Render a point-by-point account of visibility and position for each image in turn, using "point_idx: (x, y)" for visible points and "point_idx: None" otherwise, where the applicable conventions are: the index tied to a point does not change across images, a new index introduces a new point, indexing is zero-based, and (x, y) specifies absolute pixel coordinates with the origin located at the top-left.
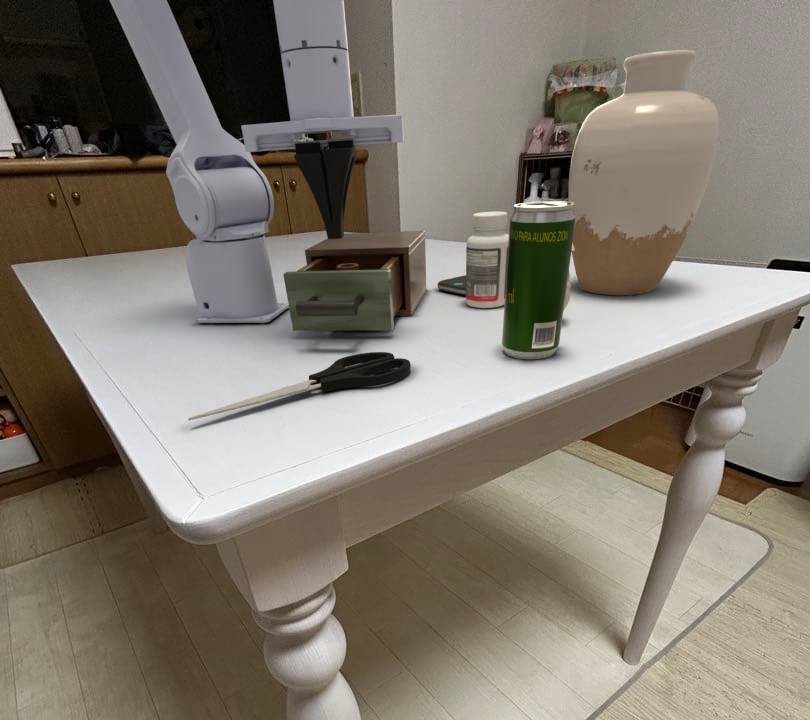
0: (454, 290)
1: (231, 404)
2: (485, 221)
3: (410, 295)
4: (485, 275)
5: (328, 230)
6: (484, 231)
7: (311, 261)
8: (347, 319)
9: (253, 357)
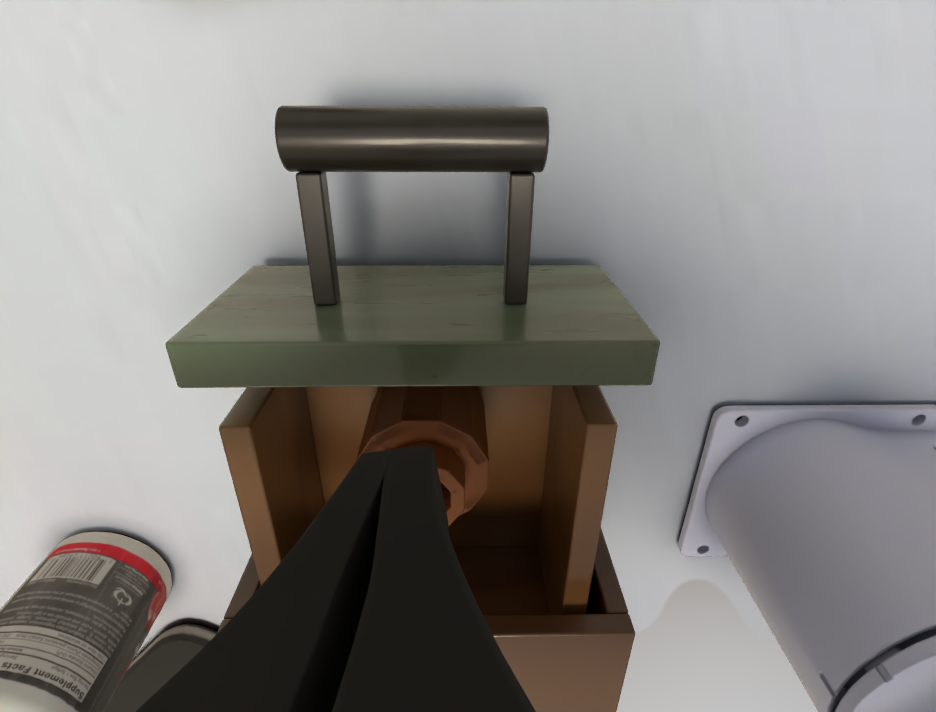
0: None
1: None
2: None
3: None
4: (40, 601)
5: (414, 463)
6: None
7: (603, 597)
8: (399, 277)
9: (697, 43)
